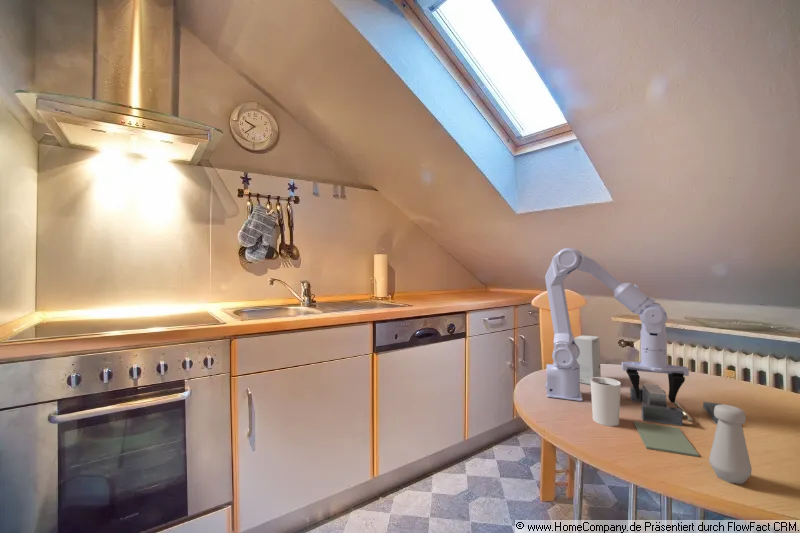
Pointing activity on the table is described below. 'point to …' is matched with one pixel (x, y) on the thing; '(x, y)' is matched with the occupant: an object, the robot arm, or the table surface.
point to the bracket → (711, 409)
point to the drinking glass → (605, 400)
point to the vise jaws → (661, 411)
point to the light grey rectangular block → (653, 395)
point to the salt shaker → (730, 446)
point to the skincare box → (588, 357)
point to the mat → (665, 439)
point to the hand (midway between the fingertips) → (654, 399)
